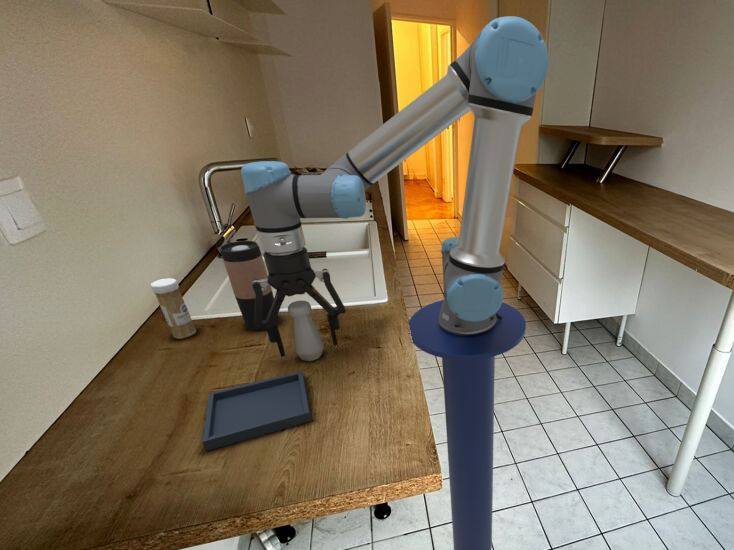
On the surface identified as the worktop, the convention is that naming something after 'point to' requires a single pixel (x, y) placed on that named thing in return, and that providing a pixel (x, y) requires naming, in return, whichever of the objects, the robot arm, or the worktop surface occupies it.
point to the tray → (255, 410)
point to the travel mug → (247, 278)
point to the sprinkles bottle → (173, 307)
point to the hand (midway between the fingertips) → (309, 347)
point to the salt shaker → (305, 332)
